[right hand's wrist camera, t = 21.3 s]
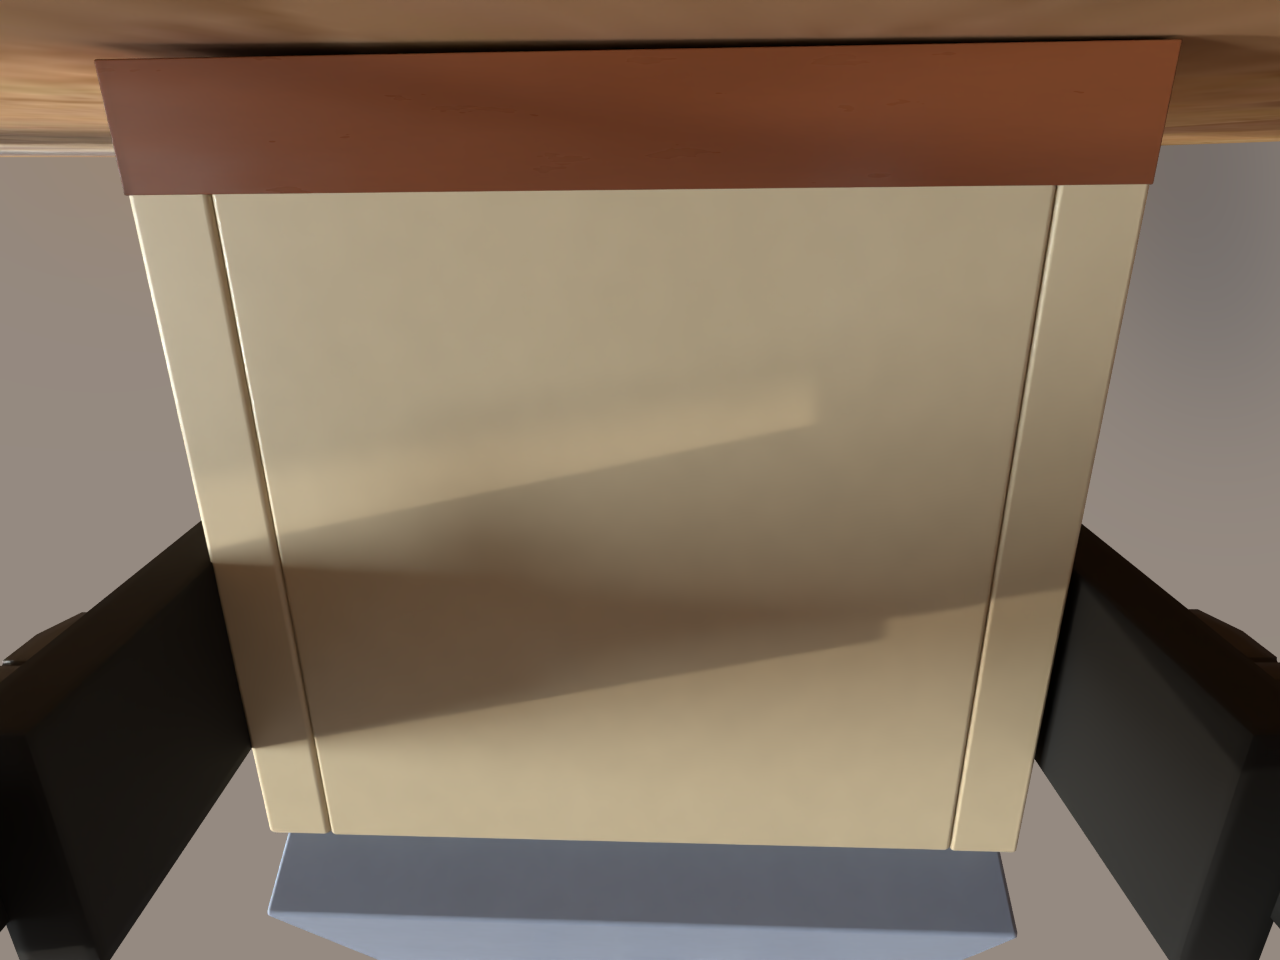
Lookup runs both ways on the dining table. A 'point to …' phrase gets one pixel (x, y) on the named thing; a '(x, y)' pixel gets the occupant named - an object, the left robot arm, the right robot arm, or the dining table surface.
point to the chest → (644, 420)
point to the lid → (639, 899)
